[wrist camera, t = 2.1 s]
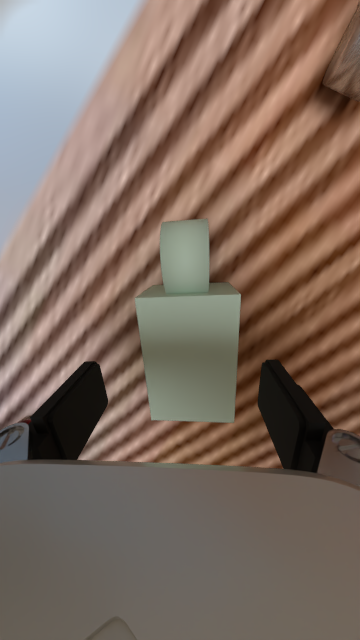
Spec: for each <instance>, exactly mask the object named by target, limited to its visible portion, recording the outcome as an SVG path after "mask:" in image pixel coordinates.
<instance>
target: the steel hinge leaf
mask: <svg viewBox="0 0 360 640" xmlns="http://www.w3.org/2000/svg"><path fill="white" fill-rule="evenodd" d="M358 6H359V8H358V9H357V11H356V13H355V15H354V17H353V19H352V20H351V22H350V24H349V26H348V28H347V30H346V32H345V34H344V36H343V37H342V39H341V41H340V43H339V45H338V47H337V49H336V51H335V53H334V55H333V58H332V60H331V62H330V64H329V66H328V68H327V71H326V73H325V76H324V79H323V83H322V84H323V85H324V86H326V87H328V88H331V89H333V90H335V91H337V92H339V93H341V94H343V95H345V96H347V97H349V98H351V99H353V100H355V101H358V102H359V101H360V2H359V4H358Z"/></svg>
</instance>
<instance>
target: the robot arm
mask: <svg viewBox="0 0 360 640" xmlns="http://www.w3.org/2000/svg"><path fill="white" fill-rule="evenodd" d="M107 404H108V398H107V394H106V390H105V385H104V381H103V377H102V373H101V369H100V365H99V364H97V363H96V362H95V361H90V362H84V363H83V364H82V365H81V366H80V367H79V368H78V369H77V370H76V371H75V372H74V373H73V374H72V375H71V376H70V377H69V378H68V379H67V380H66V381H65V382H64V383H63V384H62V385H61V386H60V387H59V388H58V389H57V391H56V392H55V393H54V394H53V395H52V396H51V397H50V398H49V399H48V400H47V401H46V402H45V403H44V404H43V405H42V406H41V407H40V408H39V409H38V410H37V411H36V412H35V413H34V414H33V415H32V416H31V417H30V419H31V422H30V423H29V424H26V423H15V424H13V425H10V426H8V427H6V428H4V429H2V430H0V640H360V436H358V435H356V434H354V433H352V432H349V431H346V430H341V429H333V427H332V426H331V425H330V424H329V422H328V421H327V420H326V418H325V417H324V416H323V415H322V413H321V412H320V411H319V409H318V408H317V407H316V406H315V404H314V403H313V402H312V400H311V399H310V398H309V397H308V395H307V394H306V393H305V391H304V390H303V389H302V388H301V387H300V386H299V385H297V384H296V383H295V382H294V380H293V379H292V378H291V376H290V375H289V374H288V372H287V371H286V370H285V368H284V367H283V366H282V364H281V363H280V362H279V361H278V360H266V361H265V362H264V363H262V368H261V377H260V385H259V394H258V407H259V410H260V412H261V414H262V417H263V419H264V422H265V424H266V427H267V429H268V432H269V434H270V436H271V439H272V441H273V444H274V446H275V449H276V451H277V453H278V456H279V458H280V461H281V463H282V466H283V468H284V469H277V468H261V467H244V466H221V465H199V464H175V463H149V462H122V461H90V460H77V459H78V457H79V455H80V453H81V451H82V450H83V448H84V446H85V444H86V443H87V441H88V439H89V437H90V435H91V434H92V432H93V430H94V428H95V426H96V425H97V423H98V421H99V419H100V417H101V416H102V414H103V412H104V410H105V409H106V407H107Z"/></svg>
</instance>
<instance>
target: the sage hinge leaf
mask: <svg viewBox="0 0 360 640" xmlns="http://www.w3.org/2000/svg"><path fill="white" fill-rule="evenodd" d="M160 259H161V270H162V278H163V284H164V285H153V286H151V287H150V288H148V289H147V290H146V291H144V292H143V293H141V294H140V295H138V296H137V297H136V298H135V304H136V311H137V318H138V326H139V333H140V340H141V348H142V355H143V362H144V369H145V377H146V384H147V391H148V398H149V406H150V413H151V420H168V421H198V422H227V423H234V416H235V397H236V378H237V359H238V341H239V322H240V303H241V294H240V293H239V292H238V291H237V290H236V289H235V288H234V287H233V286H232V285H231V284H229V283H228V282H222V283H209V228H208V219H196V220H183V221H170V222H163V223H162V225H161V231H160Z"/></svg>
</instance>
